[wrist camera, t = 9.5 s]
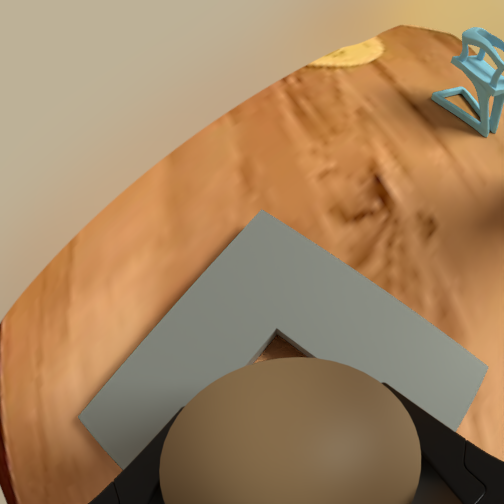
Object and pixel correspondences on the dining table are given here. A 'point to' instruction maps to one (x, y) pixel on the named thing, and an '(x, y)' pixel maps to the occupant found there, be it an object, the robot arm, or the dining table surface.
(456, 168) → the dining table surface
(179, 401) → the slotted shelf board
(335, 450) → the lidded jar
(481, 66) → the chair
